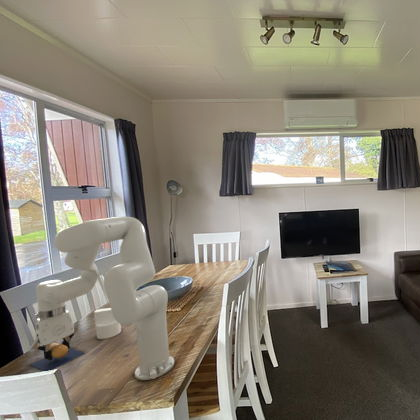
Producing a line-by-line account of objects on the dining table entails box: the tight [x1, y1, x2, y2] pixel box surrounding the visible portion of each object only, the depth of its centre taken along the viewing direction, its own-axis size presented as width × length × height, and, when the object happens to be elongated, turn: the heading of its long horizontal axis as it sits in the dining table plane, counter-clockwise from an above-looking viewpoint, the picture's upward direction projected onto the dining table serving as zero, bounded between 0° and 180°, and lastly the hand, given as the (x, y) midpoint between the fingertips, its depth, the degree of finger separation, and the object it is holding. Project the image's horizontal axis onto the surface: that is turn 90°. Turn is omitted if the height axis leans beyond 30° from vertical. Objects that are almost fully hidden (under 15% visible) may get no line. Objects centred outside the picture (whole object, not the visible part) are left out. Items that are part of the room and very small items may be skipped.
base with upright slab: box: [93, 307, 122, 340], centre depth 126 cm, size 9×9×12 cm
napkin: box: [30, 347, 85, 372], centre depth 108 cm, size 12×12×1 cm
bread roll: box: [50, 342, 68, 358], centre depth 108 cm, size 9×5×5 cm, turn 68°
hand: (57, 354), depth 108 cm, fingers closed on bread roll, 4 cm apart
